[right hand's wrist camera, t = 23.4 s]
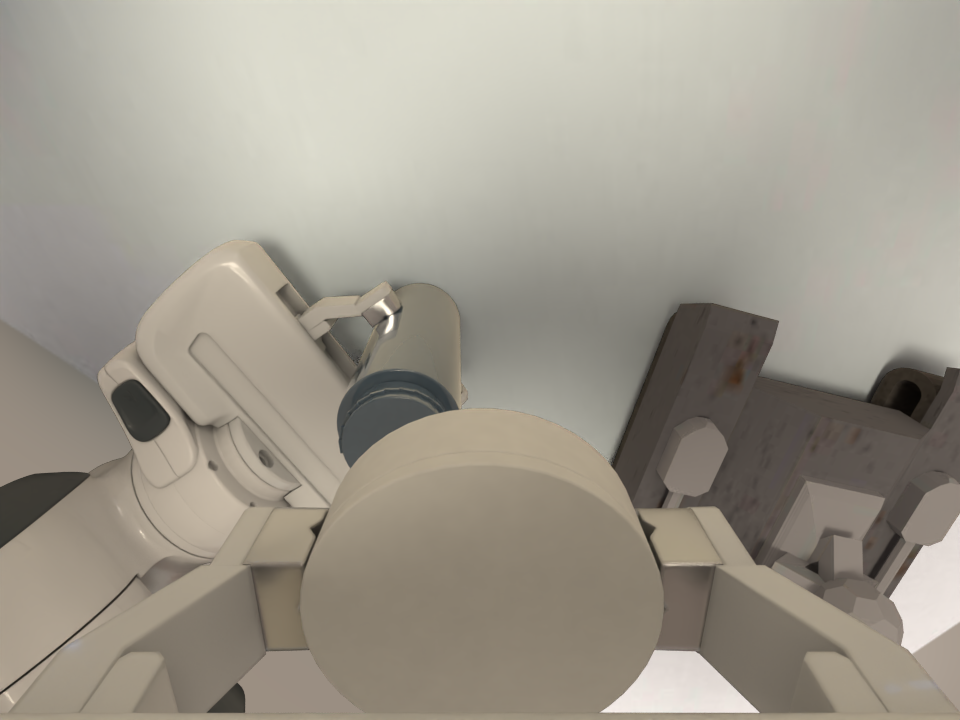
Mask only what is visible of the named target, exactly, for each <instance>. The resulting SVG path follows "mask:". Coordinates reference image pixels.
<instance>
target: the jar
mask: <svg viewBox="0 0 960 720" xmlns="http://www.w3.org/2000/svg"><path fill="white" fill-rule="evenodd" d="M395 294H396V295H397V296H398V298H399V299H400V301H401V302H402V304H401V307H400V309H399V310H398V311H396V312H395V313H394V314H392V315H390V316H385V317H384V319H383V320H382V321H381V322H380V323H379V324H377V325H376V326H375V327H374V329H373V331H372V334H371V336H370V338H369V340H368V343H367V345H366V347H365V349H364V352H363V354H362V356H361V358H360V361H359V363H358V365H357V367H356V370H355V372H354V374H353V376H352V378H351V381H350V383H349V385H348V387H347V390H346V392H345V394H344V396H343V399H342V401H341V403H340V406H339V409H338V413H337V431H338V436H339V440H338V443H339V449H340V453H343V455H344V458H345V460H346V462H347V464H348V466H349V467H350V469H351V467H352V466H353V465H354V463H355V462H356V461H357V460H358V458H360V457H361V456H362V455H363V454H364V453H365V452H366V451H367V450H368V449H369V448H370V447H371V446H372V445H374V444H375V443H376V442H378V441H379V440H381V439H382V438H383V437H385V436H386V435H388V434H389V433H391V432H393V431H395V430H397V429H399V428H400V427H402V426H404V425H406V424H408V423H411V422H413V421H416V420H419V419H421V418H424V417H427V416H430V415H434V414H439V413H443V412H447V411H453V410H461V409H462V405H461V346H460V315H459V311H458V308H457V306H456V304H455V302H454V301H453V299H452V298H451V297H450V296H449V295H448V294H447V293H446V292H445V291H443V290H442V289H440V288H438V287H436V286H434V285H430V284H425V283H414V284H409V285H406V286H403V287H401V288H399V289H398V290H396V291H395Z"/></svg>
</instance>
